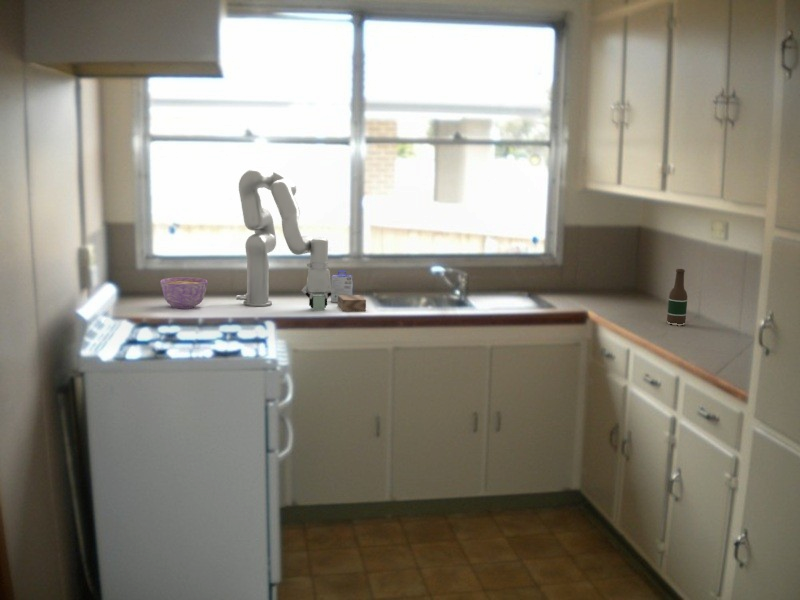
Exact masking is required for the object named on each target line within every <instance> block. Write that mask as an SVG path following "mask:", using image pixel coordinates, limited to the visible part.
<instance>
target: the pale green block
mask: <svg viewBox="0 0 800 600" xmlns="http://www.w3.org/2000/svg"><path fill="white" fill-rule="evenodd" d="M311 310H313V311H325V296H324V294H313V308H311Z"/></svg>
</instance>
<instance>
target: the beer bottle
mask: <svg viewBox="0 0 800 600" xmlns="http://www.w3.org/2000/svg"><path fill="white" fill-rule="evenodd" d="M675 272H676V274H675V278H674V279H675V280H674V281H675V282H674V284H673V288H672V289H671V290H670V292H669V295H668V303H667V317H666V322H667V321H668V322H670V323H677V324H683V323H685V324H686V319H687V309H688V294H687V291H686V289H685V285H684V284H685V273H686V270H685V269H684V268H676V270H675Z"/></svg>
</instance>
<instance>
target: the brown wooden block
mask: <svg viewBox="0 0 800 600" xmlns="http://www.w3.org/2000/svg"><path fill="white" fill-rule="evenodd" d="M337 308H339V309H340V310H341V311H342V312H366V311H367V300H366V299H365V298H364V297H363V296H362V295H360V294H352V295H338V302H337Z"/></svg>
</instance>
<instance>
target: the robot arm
mask: <svg viewBox="0 0 800 600" xmlns="http://www.w3.org/2000/svg"><path fill="white" fill-rule="evenodd" d="M263 188H264V189H267V190H269V191H270V193H271V195H272V197H273V200H274V203H275V205H276V208H277V209H278V212H279V215H280V218H281V226H282V227H281V228H282V229H281V230H282V234H283V237H284V239H285V242H286V244H287V245H286V246H287V247H288V249H289V251H290V252H291V253H292V254H293V255H295V256H301V255H303V254H309V253H310V255H309V256H310V261H309V263H306V267H308V271H307V276H306V284H305V285H304V287H303V288H302V289H301V292H302V293H303V294H304V295H305V296H307V297H308V303H309V304H308V305H309V306H310V308H311V309H312V308H313V295H314V294H316V293H322V294H323V295H324V296H325V308H327V306H328V299H329V298H330V297H331V294H332V293H334V292H335V290H334V288H333V287H332V286H331V272H330V269H329V268H328V260H329V259H328V257H329V256H328V255H329V252H328V251H329V241H328V238H325V237H314V236H313V237H312V236H308V235H303V236H302V235H301V231H300V227H299V218H300V214H301V212H300V208H299V206H298V203H297V202H296V198H295V195H296V193H297V186H296V183H295V182H293V180H291V179H289V178H288V177H286V176H284V175H282V174H280V173H278V172H276V171H274V170H273V169H269V168H268V167H267V168H265V167H263V168H262V167H261V168H259V167H258V168H257V167H256V168H252V169H249V170H247V171H246V172H245V173H243V174H242V175H241V177H240V178H239V182H238V191H239V199H240V203H241V210H242V211H241V212H242V216H243V222H244V227H246V229H248V230H249V231H252V232H253V231H254V234H251V235H250V236H249V237H248V238H247V239H246V241H245V254H246V293H245V294H243V295H236V300H238V301H242V302H243V305H245V306H249V307H267V306H271V305H272V304H273V301H272V300H269V292H270V291H269V290H270V289H269V286H270V284H269V283H270V282H269V275H270V274H269V272H270V269H269V268H270V265H269V256H268V254H270V253H271V252H273V251H274V249H276V246H277V235H276V231H275V225H274V219H273V216H272V214H271V213H270V211H269V210H268V209H266V208H264V207H262V200H261V197H260V195H259V191H258V190H259V189H263Z"/></svg>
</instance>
